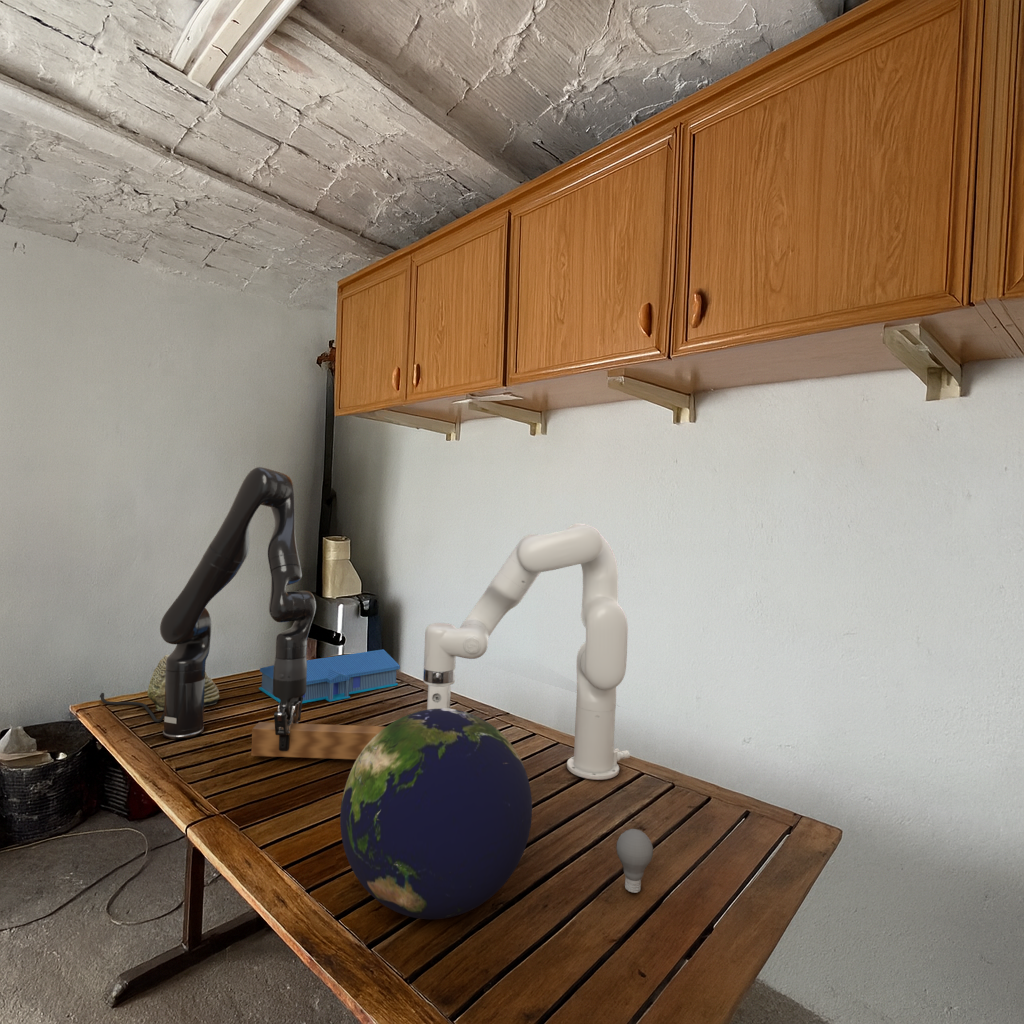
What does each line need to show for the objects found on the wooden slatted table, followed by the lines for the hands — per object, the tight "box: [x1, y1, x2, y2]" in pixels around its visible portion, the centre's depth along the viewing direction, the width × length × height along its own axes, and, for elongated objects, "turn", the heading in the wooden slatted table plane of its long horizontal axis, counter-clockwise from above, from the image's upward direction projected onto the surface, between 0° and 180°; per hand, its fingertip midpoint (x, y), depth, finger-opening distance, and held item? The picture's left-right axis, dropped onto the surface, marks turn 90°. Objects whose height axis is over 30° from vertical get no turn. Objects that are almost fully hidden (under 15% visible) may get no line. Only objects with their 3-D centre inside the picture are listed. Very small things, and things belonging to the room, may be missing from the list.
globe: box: [339, 708, 533, 920], centre depth 100 cm, size 30×30×30 cm
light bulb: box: [615, 828, 654, 894], centre depth 106 cm, size 6×6×10 cm
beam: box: [250, 721, 386, 760], centre depth 152 cm, size 51×4×6 cm, turn 92°
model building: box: [258, 649, 401, 704], centre depth 208 cm, size 39×24×10 cm, turn 132°
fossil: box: [147, 654, 221, 712], centre depth 185 cm, size 9×18×15 cm, turn 132°
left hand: (287, 745), depth 151 cm, fingers closed on beam, 4 cm apart
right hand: (436, 750), depth 152 cm, fingers closed on beam, 4 cm apart
